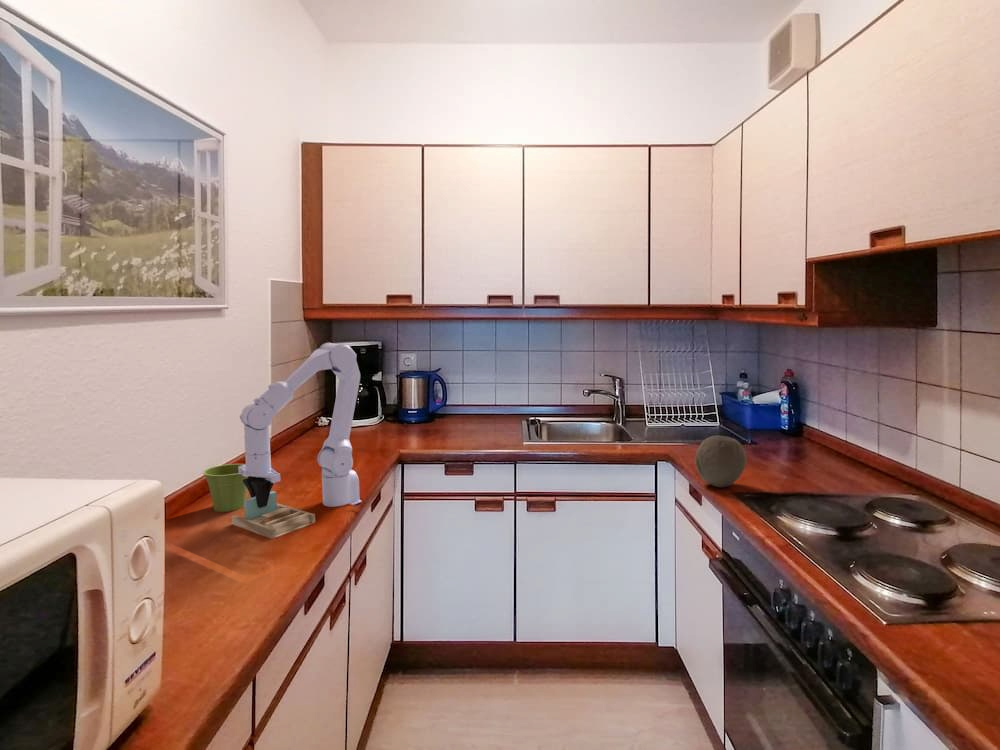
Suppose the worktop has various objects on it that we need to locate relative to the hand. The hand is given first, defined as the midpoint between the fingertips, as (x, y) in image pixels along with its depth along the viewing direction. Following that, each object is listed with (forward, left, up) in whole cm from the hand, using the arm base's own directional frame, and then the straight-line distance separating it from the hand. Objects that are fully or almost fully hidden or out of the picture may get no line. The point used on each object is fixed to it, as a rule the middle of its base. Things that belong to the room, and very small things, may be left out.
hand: (260, 506), depth 142 cm
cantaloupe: (-94, +88, -5) cm, 129 cm away
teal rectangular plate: (0, 0, -3) cm, 3 cm away
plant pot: (-1, -15, -5) cm, 16 cm away
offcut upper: (-1, +6, -2) cm, 6 cm away
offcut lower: (0, +6, -3) cm, 6 cm away
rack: (0, +5, -4) cm, 7 cm away
